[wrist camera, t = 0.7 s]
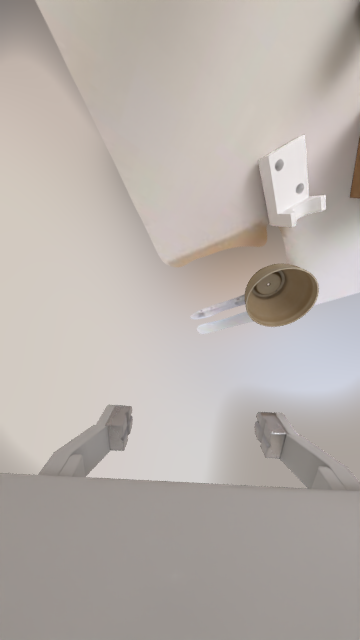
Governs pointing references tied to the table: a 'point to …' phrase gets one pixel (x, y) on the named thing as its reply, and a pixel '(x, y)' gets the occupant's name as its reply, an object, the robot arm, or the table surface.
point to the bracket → (288, 184)
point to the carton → (356, 177)
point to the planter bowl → (280, 294)
